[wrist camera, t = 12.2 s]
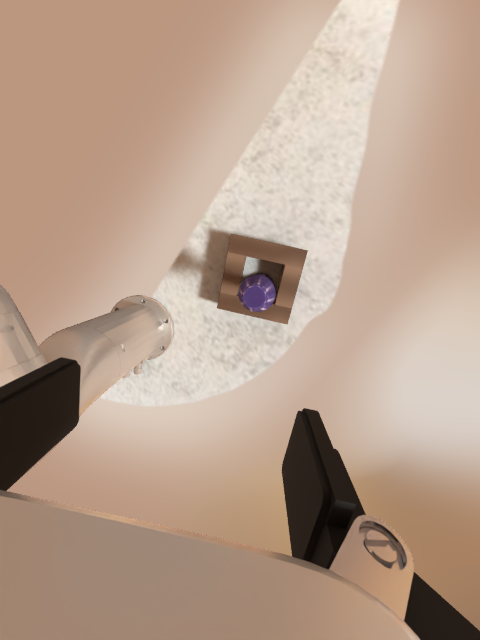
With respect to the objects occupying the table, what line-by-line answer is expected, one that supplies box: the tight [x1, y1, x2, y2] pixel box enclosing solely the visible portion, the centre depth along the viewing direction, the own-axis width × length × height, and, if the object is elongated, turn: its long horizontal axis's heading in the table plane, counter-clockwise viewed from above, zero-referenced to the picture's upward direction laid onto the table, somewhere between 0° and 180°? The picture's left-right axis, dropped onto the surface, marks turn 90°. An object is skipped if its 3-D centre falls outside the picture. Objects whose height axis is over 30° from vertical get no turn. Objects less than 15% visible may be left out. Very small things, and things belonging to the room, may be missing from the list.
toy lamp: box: [238, 273, 276, 312], centre depth 35 cm, size 5×5×17 cm
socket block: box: [217, 234, 307, 324], centre depth 41 cm, size 12×12×4 cm
